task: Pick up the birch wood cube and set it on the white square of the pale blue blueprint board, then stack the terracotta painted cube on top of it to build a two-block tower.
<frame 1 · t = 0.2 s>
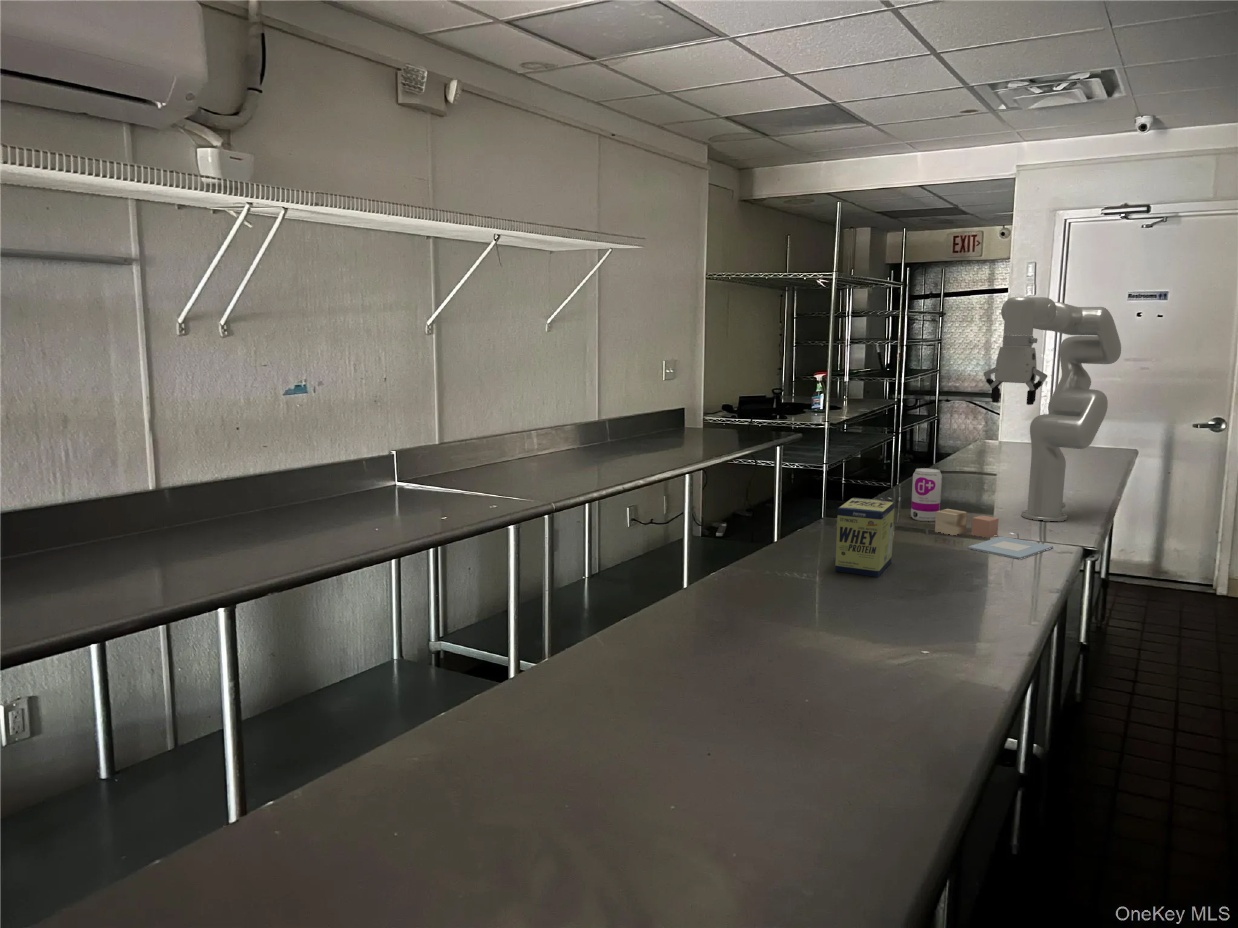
hand: (1012, 403, 249), 36 cm above the table, tool pointing down, fingers open, 9 cm apart
supplement can: (924, 519, 268), on the table
top block: (984, 535, 247), on the table
base block: (950, 532, 251), on the table
protein box: (863, 567, 215), on the table
blueprint board: (1010, 548, 233), on the table
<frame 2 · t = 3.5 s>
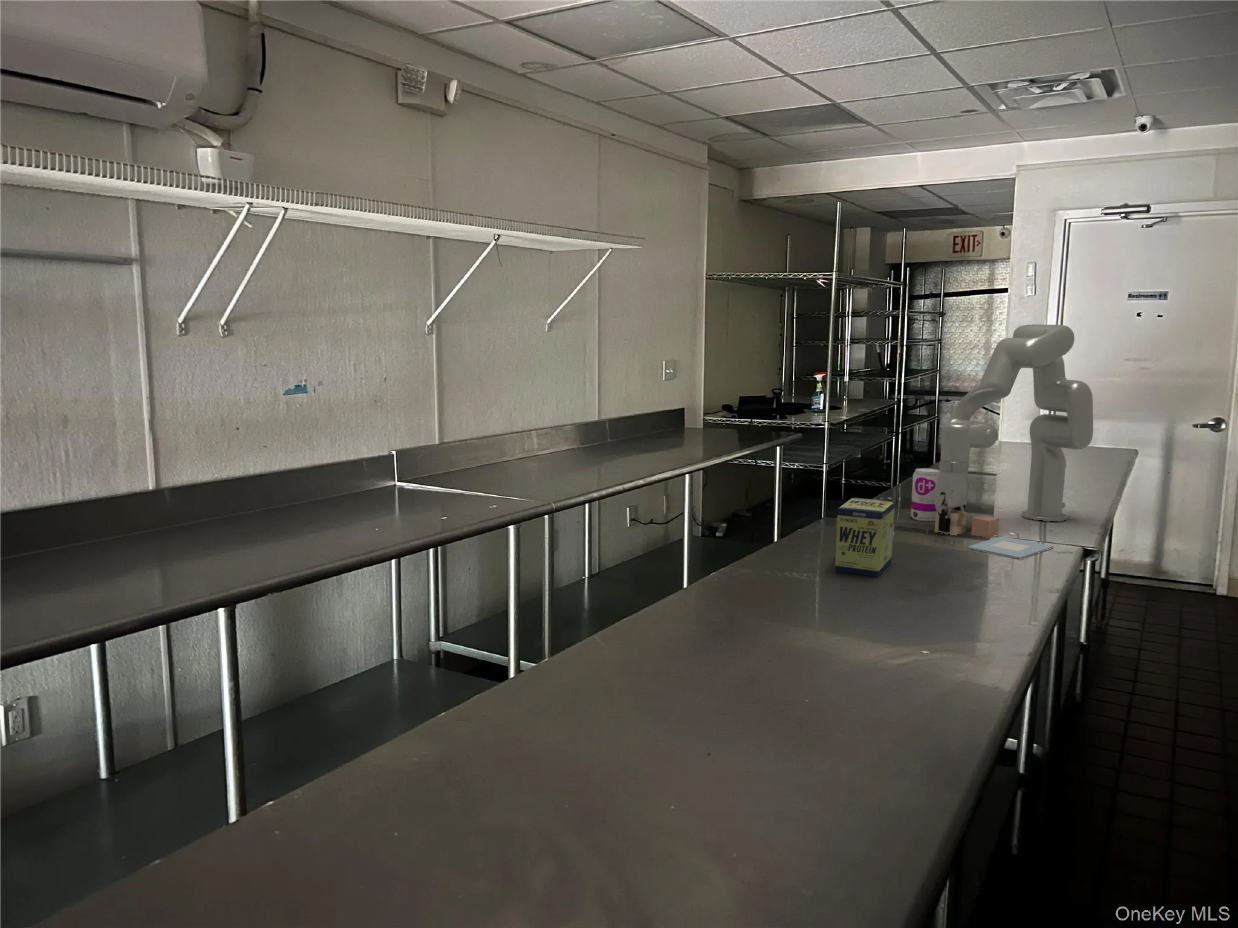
hand: (950, 529, 251), 1 cm above the table, tool pointing down, fingers closed on base block, 6 cm apart
base block: (950, 532, 251), on the table, touching gripper
everything else where it was.
when the fingers open (3 cm above the table, at t = 9.8 s): base block drops 1 cm, resting on blueprint board.
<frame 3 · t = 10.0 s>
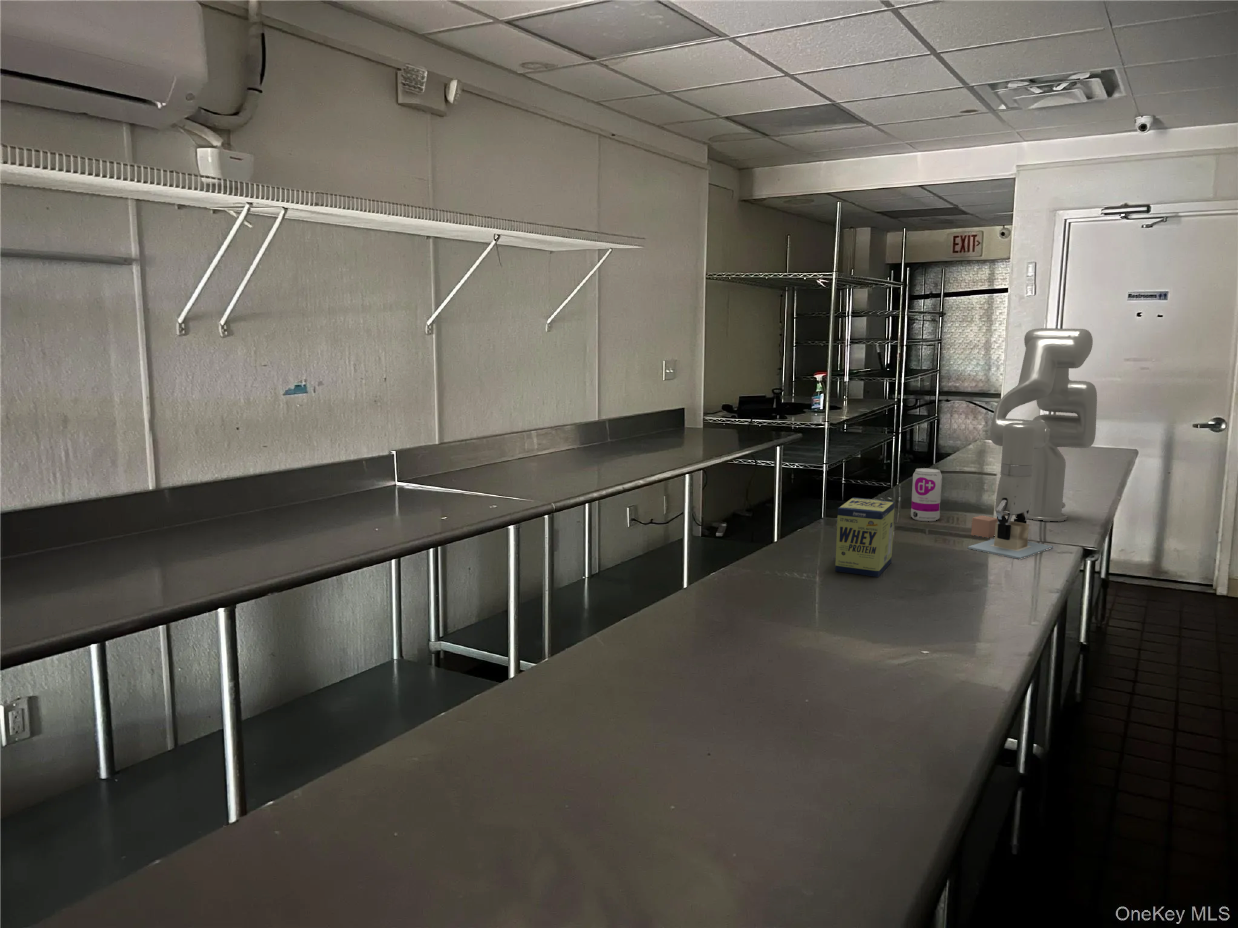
hand: (1011, 536, 232), 3 cm above the table, tool pointing down, fingers open, 7 cm apart
base block: (1010, 545, 233), point 1 cm above the table, touching blueprint board
everything else where it was.
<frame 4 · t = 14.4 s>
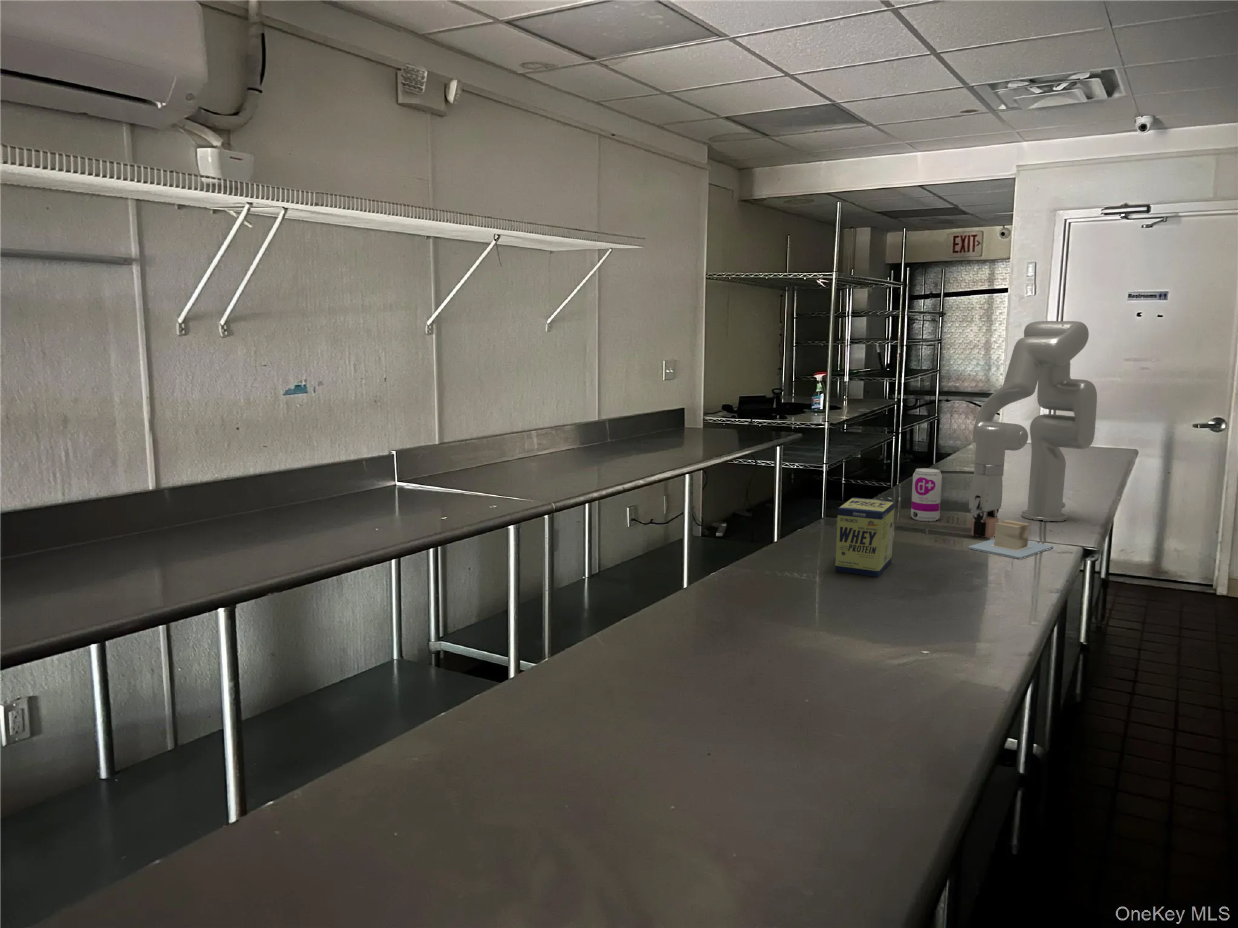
hand: (984, 533, 247), 0 cm above the table, tool pointing down, fingers closed on top block, 5 cm apart
top block: (984, 535, 247), on the table, touching gripper
everything else where it was.
when the fingers open (8 cm above the table, at t = 19.7 s): top block drops 1 cm, resting on base block.
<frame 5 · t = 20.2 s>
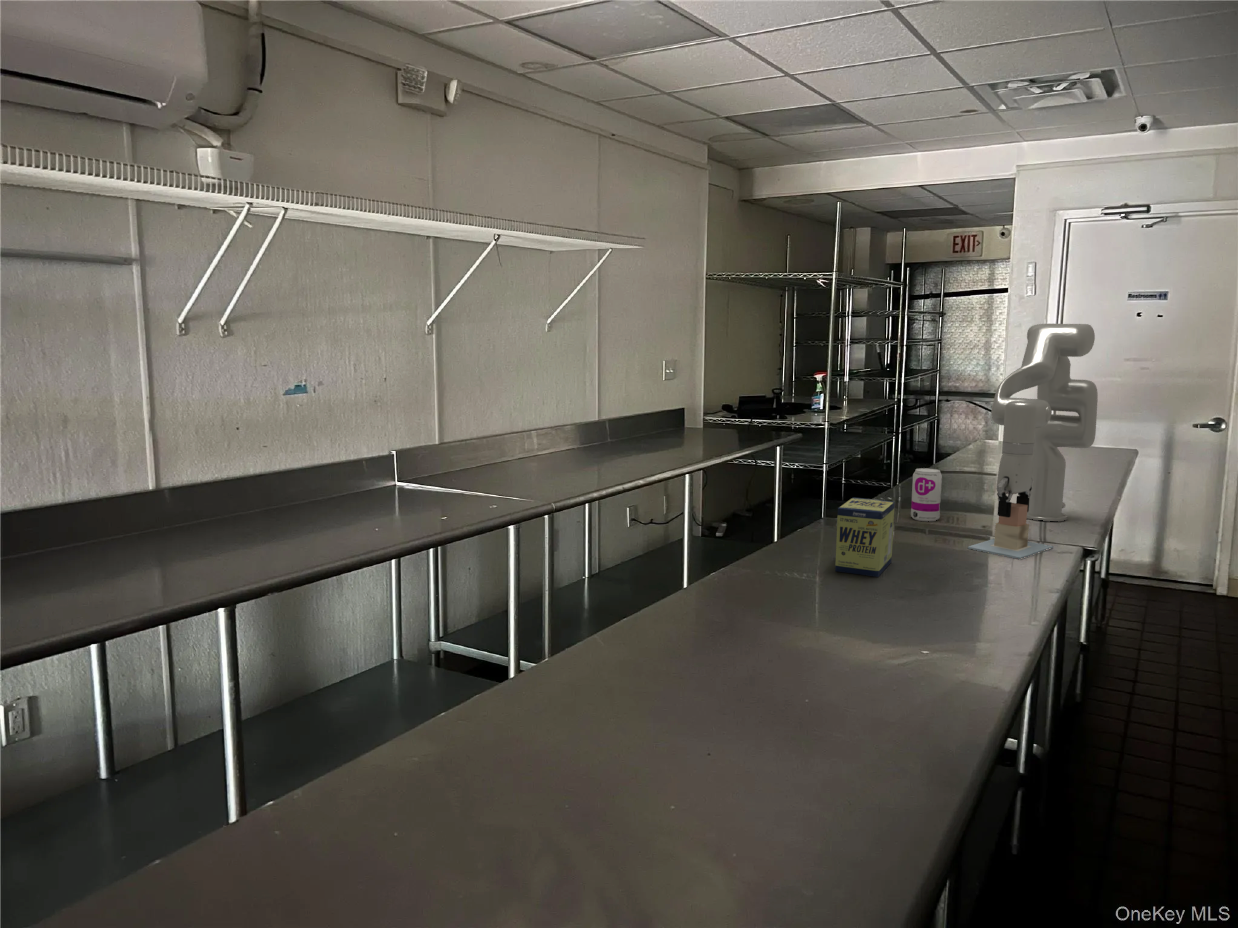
hand: (1013, 513, 231), 9 cm above the table, tool pointing down, fingers open, 9 cm apart
top block: (1012, 523, 232), point 7 cm above the table, touching base block
base block: (1010, 545, 233), point 1 cm above the table, touching blueprint board, top block
everything else where it was.
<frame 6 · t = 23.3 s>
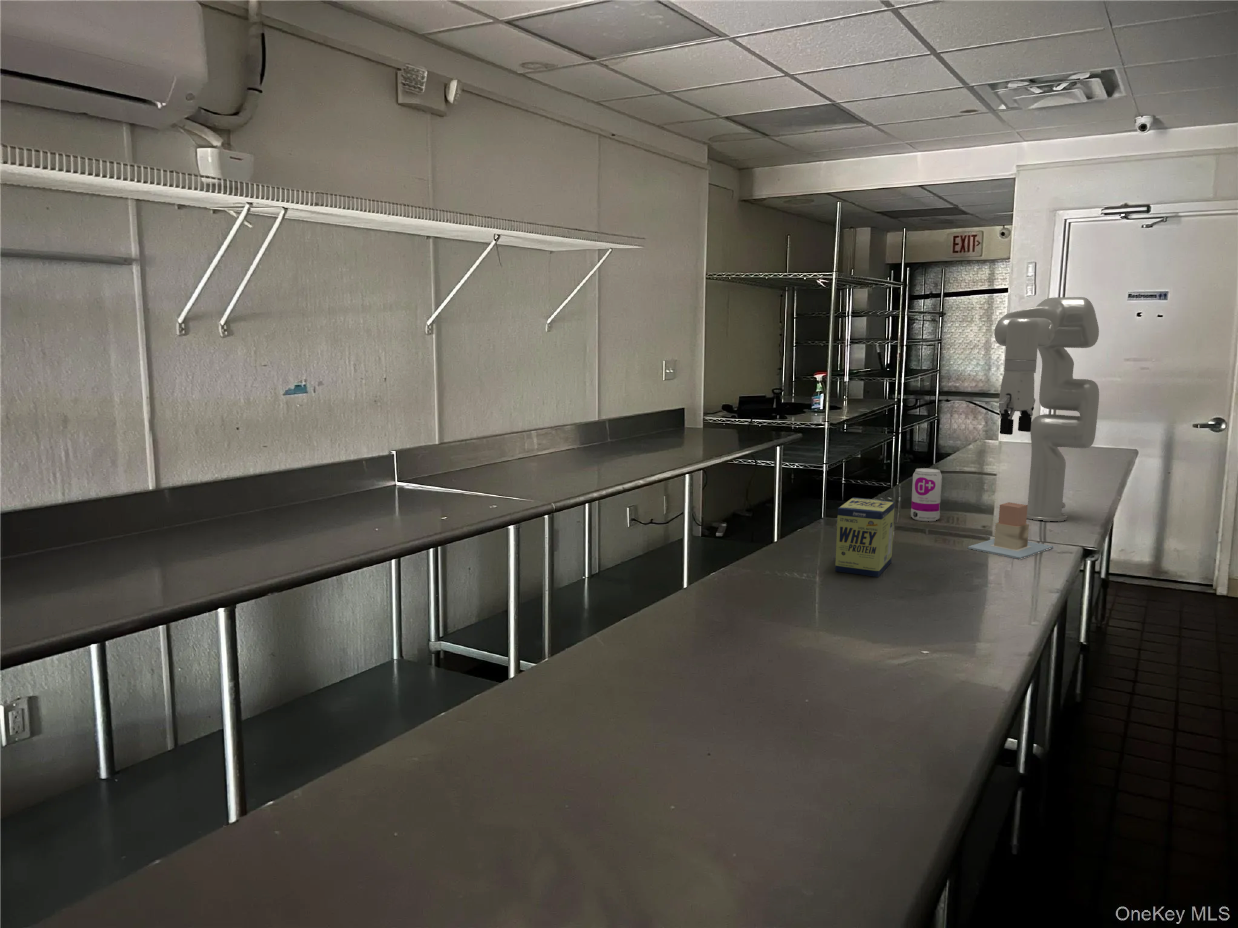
hand: (1015, 432, 231), 30 cm above the table, tool pointing down, fingers open, 9 cm apart
nothing on the table moved.
at the end: base block 0.1 cm off-centre on the blueprint board, point 0.7 cm above the blueprint board's base; top block 0.0 cm off-centre on the base block, point 6.0 cm above the base block's base; top block tilted 0° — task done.
